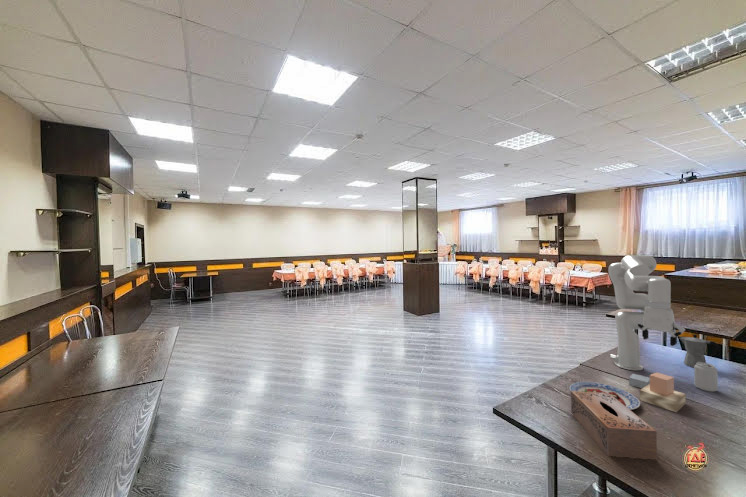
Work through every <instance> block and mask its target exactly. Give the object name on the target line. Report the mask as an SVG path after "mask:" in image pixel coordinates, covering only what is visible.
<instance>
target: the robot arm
mask: <svg viewBox="0 0 746 497" xmlns="http://www.w3.org/2000/svg"><path fill="white" fill-rule="evenodd" d="M657 265H658V264H657V260H656V259H655V258H654V256H652V255H649V254H647V255H646V254H645V255H644V254H641V255H637V254H635V255H625V256H624V257H623V258H622V259H621V260H620V262H614V263H611V264H610V265H608V275H609V279H610V281H611V282H612V285H613V289H614V296H615V303H616V306H617V307H618V308H619V309H622V310H627V311H618V312H617V313H616V314H615V316H614V318H615V324H616V332H617V333H616V334H617V355H615V354H610V356H609V357H610V359H611V360H615V361H614V365H615V366H616V367H618V368H621V369H624V370H629V371H635V372H637V371H643V370H644V366H643V365H642V364H640V336H639V335H638V334H637V333H636V332H635V331H634V330H641V333H642V334H641V335H642V339H643V340H648V339H649V330H654V331H659V332H663V333H668V334H669V335H670V337H669V341H670V342H669V344H670V346H672V347H673V346H676V345H677V344H678V337H679V336H680V335H683V333H684V332H685V331H686V328H685V327H683V326H681V325H679V324H677V323H676V322H675V321H676V319H675V315H674V311H673V309H672V308H671V301H672V300H671V297H672V296H671V290H672V287H671V285H672V284H671V283H672V282H671V281H670V279H667V278H666V277H664V276H660V275H650V274H651V273H653V272H654V271H655V270H656V268H657ZM634 291H636V292H637V293H636V292H634ZM638 292H639V293H638ZM640 292H647V293H640ZM628 310H633V311H628ZM634 310H635V311H634ZM675 329H677V330H678V331H677V332H676V331H675Z"/></svg>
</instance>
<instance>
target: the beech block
mask: <svg viewBox="0 0 746 497" xmlns="http://www.w3.org/2000/svg"><path fill="white" fill-rule="evenodd" d="M686 399H687V398H686V393H684V392H680V391H677V390H674V393H673V394H671V395H669V396H665V395H662V394H659V393H656V392H653V391H650V384H648V385H647V386H645V387H644V388H640V390H639V401H640V402H645V403H646V404H647V403H648V404H651V405H653V406H656V407H659V408H661V409H666V410H667V411H671V412H674V413H677V412H678V411H679V410H681V409H682V408H683V407H684V406H685V405H686V401H687V400H686Z"/></svg>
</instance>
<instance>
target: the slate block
mask: <svg viewBox="0 0 746 497" xmlns="http://www.w3.org/2000/svg"><path fill="white" fill-rule="evenodd" d="M628 378H629V379H628V382H629V384H628V385H629V386H631V385H632V386H631V387H636V388H639V389H642V388H644V387H645V386H647V385H648V384H650V377H648V376H644V375H641V374H636V373H632V374H631V375H630V376H629V377H628Z"/></svg>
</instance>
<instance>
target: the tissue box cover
mask: <svg viewBox="0 0 746 497" xmlns="http://www.w3.org/2000/svg"><path fill="white" fill-rule="evenodd" d="M570 409H571V410H570V412H571V413H572V414H573V415H574V416H573V415H572V414H571V413H570V414H571V415H572V416H573V418H576V419H577V420H578V421H577V420H576V419H575V420H576V421H577V422H578V423H579V425H582V426H583V427H584V428H583V427H582V426H581V427H582V428H583V429H584V430H585V431H586V432H587V434H588V433H589V434H588V435H589V436H590V437H591V438H592V440H594V441H595V443H596V445H598V446H599V447H600V449H601V450H602V451H603V452H604V453H605V454H606V455H607V457H611V456H613V457H614V456H616V457H614V458H623V457H632V458H631V459H635V458H642V459H641V460H647V459H656V460H655V461H657V460H658V456H657V455H658V451H657V449H658V446H657V445H658V444H657V443H658V442H657V440H658V439H657V434H658V433H657V430H655V428H654V427H652V426H651V425H649V423H648V422H646V421H644V420H643V419H642V418H641V417H640V416H638V415H637V414H636V413H634V412H633V411H632V410H630V409H628V408H627V407H626V406H625V405H623V404H622V403H621V402H620V401H618V400H617V399H616V398H615V397H613V396H612V395H611V394H610V393H599V392H580V391H570ZM613 457H612V458H613ZM644 458H645V459H644Z"/></svg>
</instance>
